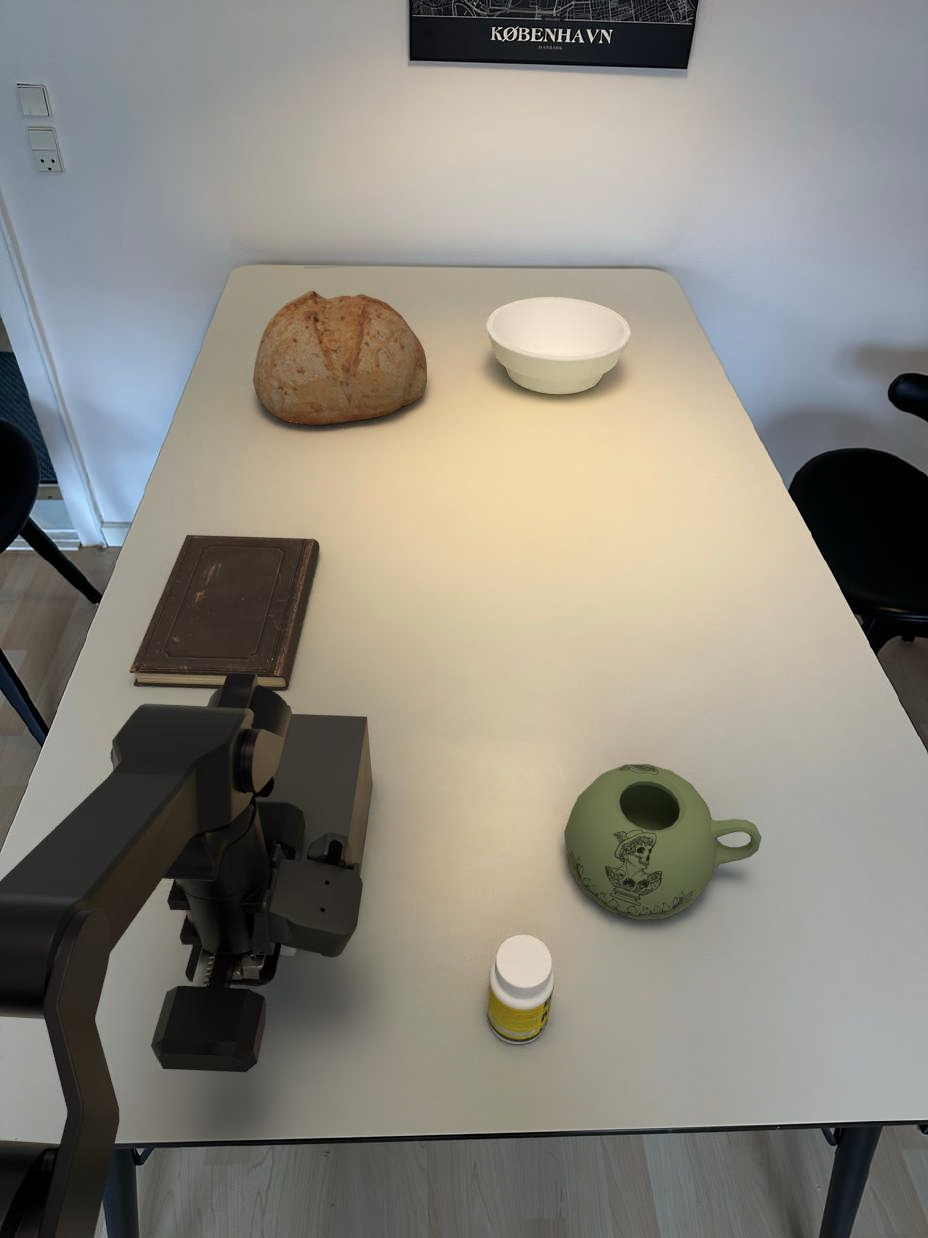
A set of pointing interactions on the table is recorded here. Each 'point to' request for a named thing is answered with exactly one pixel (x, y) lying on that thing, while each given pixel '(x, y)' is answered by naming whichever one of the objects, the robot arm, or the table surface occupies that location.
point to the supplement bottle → (520, 989)
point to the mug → (647, 842)
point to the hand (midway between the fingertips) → (253, 984)
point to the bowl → (557, 342)
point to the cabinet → (327, 777)
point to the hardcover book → (229, 612)
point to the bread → (338, 360)
